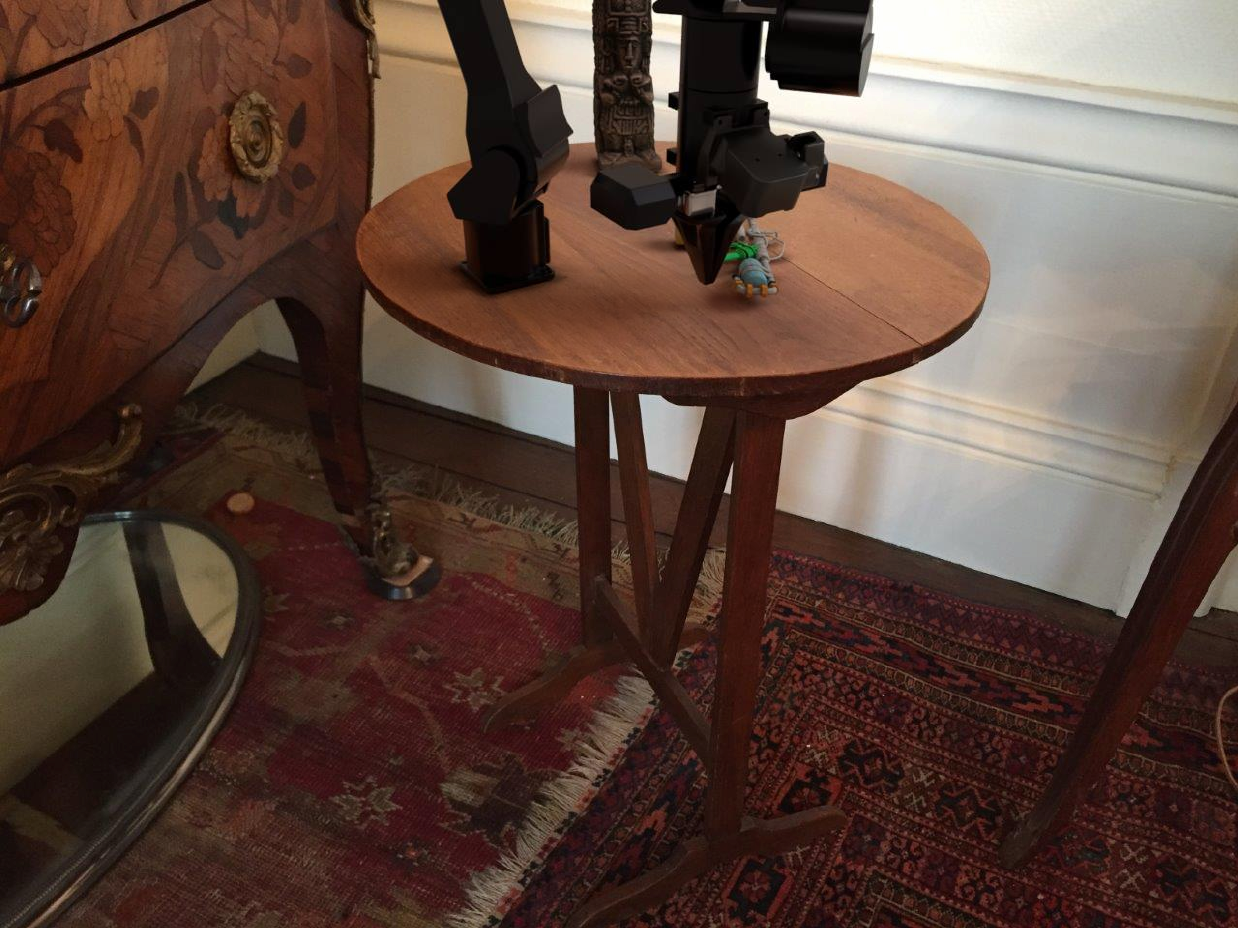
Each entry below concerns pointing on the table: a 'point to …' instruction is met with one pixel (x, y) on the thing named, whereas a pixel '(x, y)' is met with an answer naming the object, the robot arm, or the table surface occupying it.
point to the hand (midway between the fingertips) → (706, 282)
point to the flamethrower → (751, 261)
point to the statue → (623, 84)
